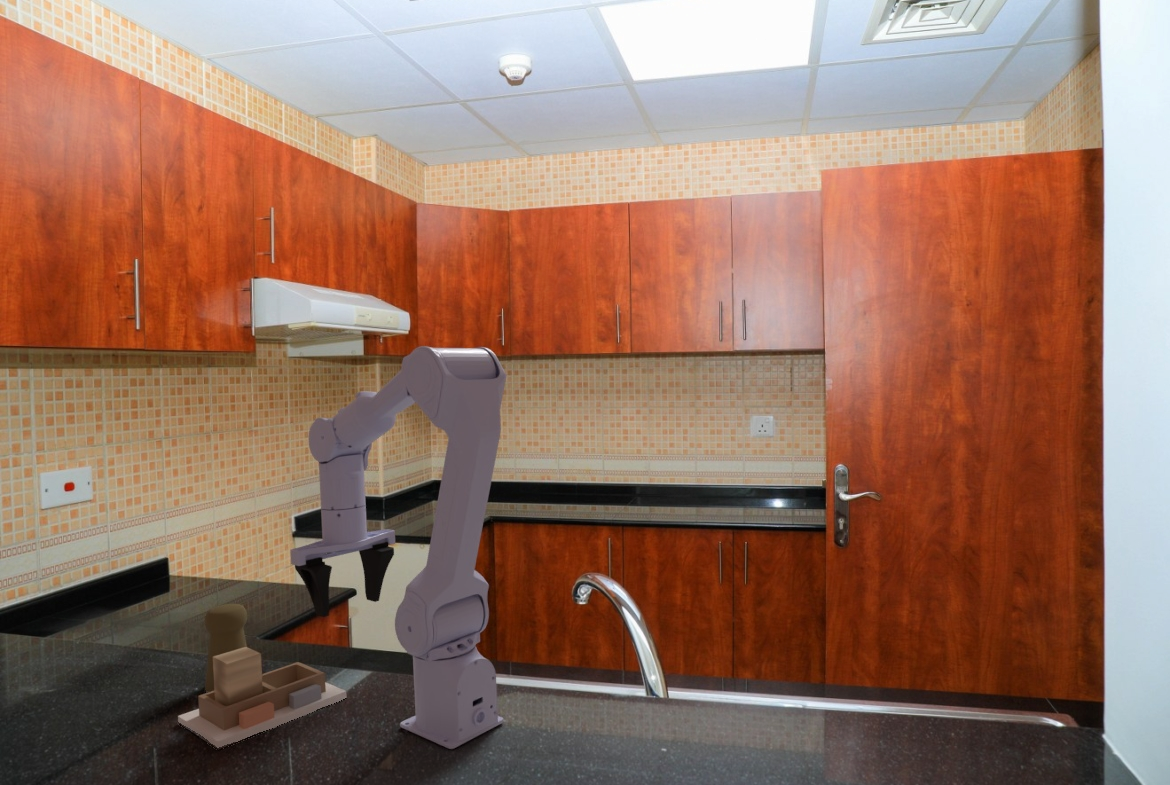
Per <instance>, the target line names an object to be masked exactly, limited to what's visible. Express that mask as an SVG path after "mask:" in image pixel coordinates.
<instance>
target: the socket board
mask: <svg viewBox="0 0 1170 785" xmlns="http://www.w3.org/2000/svg"><path fill="white" fill-rule="evenodd" d="M262 687H263V694H260V695H257V696H254V697H251V698H249V699H246V700H243V701H240V702H238V703H235V704H232V705H229V706H224V705H222V704H220V703H218V702H217V701H215V692H214V691H211V692H208V693H205V692H204V693H203V694H200V695H198V696H197V698H198V700H197V701H198V708H196V709H194V710H190V711H188V712H186V713H185V712H184V713H182V714H180V715H177V721H178V722H179V723H181V724H182V725H184V726H186V727H188V728H190V729H191V730H193V731H195V732H196V733H198V734H200V735H201V736H203V737H204V738H205V739H207V740H208V741H209V742H210V743H211V744H213V745H215V746H216V747H217V748H219V747H222V746H224V745H227V744H231V743H233V742H238V741H240V740H242V739H245V738H247V737H250V736H252V735H254V734H257V733H259V732H263V731H265V732H267V731H266V730H268V731H270V730H273V729H275V728H277V726H278V727H280V726H282V725H281V724H283V725H285V724H287V722H288V723H290V722H292V721H291V720H293V721H295V720H297V718H298V719H300V718H303V717H305V716H307V714H308V715H310V714H313V713H315V712H317V711H316V710H317V709H320V708H322V707H325V706H328V705H330V706H332V705H335V704H337V703H339V701H340V702H342V701H344V700H343V699H345V698H347V691H346V690H344V689H343V688H340V687H338V686H335V685H333V684H331V683H328V682H326V673H325V672H323V671H322V670H319V669H316V668H314V667H311V666H309V665H307V664H304V663H302V662H299V661H297V662H294V663H291V664H288V665H285V666H282V667H280V668H277V669H273V670H271V671H267V672H265V673H262ZM341 700H342V701H341ZM345 700H346V699H345ZM336 702H337V703H336ZM334 703H335V704H334ZM331 704H332V705H331ZM328 707H329V706H328ZM325 708H326V707H325ZM320 710H321V709H320ZM314 711H315V712H314ZM312 712H313V713H312ZM309 713H310V714H309ZM302 716H303V717H302ZM299 717H300V718H299ZM294 719H295V720H294ZM289 721H290V722H289ZM178 722H177V723H178ZM284 723H285V724H284ZM279 725H280V726H279ZM272 728H273V729H272ZM269 729H270V730H269ZM263 733H264V732H263ZM238 743H239V742H238Z"/></svg>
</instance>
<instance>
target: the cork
mask: <svg viewBox="0 0 1170 785" xmlns="http://www.w3.org/2000/svg"><path fill="white" fill-rule="evenodd" d="M204 616H205V617H204V626H205V628H206V632H208V633H209V638H208V650H207V660H206V661H207V662H206V671H205V683H204V691H205V690H206V691H209V692H210V691H214V672H213V657H214V656H217V655H220V654H224V653H227V652H230V651H234V650H237V649H240V648H244V647H248V644H247V640H246V634H245V631H244V630H245V628H244V627H245V624H246V623H247V620H248V612H247V610H246V608H245V606H244V605H242V604H241V603H224V604H220V605H217V606H214V607H212V608H210V609H209V610H208V611H207V612H206V614H205V615H204Z"/></svg>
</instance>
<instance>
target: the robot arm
mask: <svg viewBox="0 0 1170 785" xmlns="http://www.w3.org/2000/svg"><path fill="white" fill-rule="evenodd" d="M506 380H507V374H506V371H505V370H504V367H503V366H502V364H501V362H500V360H499V358H498V357H497V355H496V354H495V352H493V351H492V349H490V348H488V347H484V346H478V347H471V348H468V347H465V348H464V347H430V346H425V345H423V346H422V345H421V346H417V347H416V348H414V349H413V350H412V351H411V352H410V354H408V355H406V356H403V358H402V362H401V368H400V370H399V371H398V372H397V373H396V374H395V375H394V376H393V377H392V378H391V379H390V380H388V381H387V383H385V385H384V386H383V387H381V389H379V390H378V391H377V392H376V391H370V390H367V391H366V390H364V391H363V390H362V391H361V390H360V391H358V392H356V394H354V397H355V399H354V400H353V401H351V402H350V403H349V404H348V405H346V406H345V407H341V408H340V409H339V410H338V411H337V413H336V414H335V415H334V416H332V418H331V417H330V418H328V417H327V418H326V417H316V418H315V419H314V421H313V422H312V424H311V426H310V428H309V432H308V448H309V452H310V454H311V455H312V457H313V458H314V460H315V461H317V463H318V470H319V471H318V472H319V473H318V474H319V475H318V476H319V478H318V479H319V493H320V495H319V496H320V510H321V511H320V513H321V514H320V516H321V533H322V534H321V536H322V540H318V541H316V542H315V541H314V542H312V543H309V544H305V545H302V546H300V547H296V548H290V551H289V552H290V565H293V566H294V568H295V571H296V572H297V573H298V575H299V576H300V578H301V579H302V581H303V583H304V585H305V587H306V589H307V592H308V593H309V596H310V599H311V601H312V605H313V609H314V613H315V616H319V617H321V618H326V617H328V616H330V596H329V594H330V593H329V591H330V579H331V573H332V569H333V567H332V565H328V564H326V562H325V561H323V560H324V559H331V558H333V557H339V556H342V555H347V554H350V553H356V552H358V554H359V556H360V561H361V563H362V568H363V575H364V591H365V592H364V593H365V598H366V600H367V601H370V602H375V603H376V602H379V601H380V598H381V592H382V588H383V587H382V586H383V582H384V578H385V576H386V572H387V570H388V567H389V565H390V562H391V561H392V559H393V557H394V556H395V549H394V547H393V546H390V545H395V544H396V533H395V532H396V530H394V529H389V528H384V529H378V530H373V531H368V524H367V508H366V507H367V505H366V501H367V500H366V487H365V486H366V482H365V471H366V470H367V469H368V466H369V454H370V452H371V449H372V444H373V443H374V442H375V441H377V440H378V439H379V438H381V437H382V436H384V435H385V434H387V433H388V432H389V431H390V430H391V429H393V427H394V426H395V425H396V422H397V421H396V420H397V415H398V414H399V413H401V412H403V411H404V410H406V409H407V408H410V407H411V406H412V405H414V404H416V405H417V406H418V407H419V408H420V409H421V411H422V412H423V413H424V414H425V416H426V418H428V420H429V421H430V422H431V423H432V424H433V426H434V427H436V428H437V429H440V430H442V431H444V433H445V434H446V435H447V436H446V437H447V439H448V441H447V445H446V446H447V447H446V450H445V457H444V463H443V469H442V474H441V480H440V486H439V492H438V498H437V503H436V509H435V514H434V521H433V525H432V531H431V537H430V543H429V549H428V553H427V560H426V566H424V568H423V569H422V570H420V572H419V573H417V575H416V576H415V577H414V578H413V579H412V580H411V581H410V582H409V583H408V584H407V585H406V588H405V593H404V595H403V597H404V598H403V600H402V601H401V603H400V604H399V605H398V607H397V609H396V612H395V618H394V630H395V635H396V638H397V640H398V643H399V644H400V646H401V648H403V649H404V651H405V652H406V653H407V655H410V656H412V666H413V667H412V668H413V669H412V670H413V688H414V706H415V707H414V708H415V715H414V716H411V717H409V718H407V719H405V720H403V721H401V722H399V726H400V728H402V729H404V730H406V731H409V732H411V733H413V734H415V735H417V736H420V737H422V738H424V739H426V740H429V741H431V742H434V743H436V744H438V745H439V746H442V747H445V748H447V749H450V750H454V749H455V748H457V747H460V746H461V745H464V744H465V743H468V742H469V741H471V740H473V739H474V738H477V737H479V736H480V735H483V734H484V733H486V732H487V731H490V730H492V729H494V728H495V727H497V726H499V725H501V724H503V722H504V717H502V716H501V715H500V716H499V715H498V713H499V712H498V691H497V674H496V673H497V672H496V669H495V667H494V664H493V663H492V662H491V661H490V660H489V659H488V658H486V657H484V656H483V655H482V654H481V653H480V652H479V651H478V649H477V646H476V645H477V644H478V643H480V642H481V633H482V632H483V631H484V630H485V629H486V627H487V625H488V623H489V616H490V610H489V604H488V591H489V588H490V585H489V583H488V582H487V580H486V579H485V578H484V576H482V574H481V573H479V572H478V571H477V570H476V569H475V568H476V563H477V558H478V553H479V547H480V542H481V536H482V531H483V526H484V522H485V516H486V511H487V506H488V502H489V495H490V490H491V486H492V479H493V475H494V469H495V464H496V459H497V453H498V448H499V443H500V438H501V432H502V431H501V428H502V426H501V405H502V401H503V396H504V390H505V385H506Z"/></svg>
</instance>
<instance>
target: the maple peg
mask: <svg viewBox="0 0 1170 785" xmlns="http://www.w3.org/2000/svg"><path fill="white" fill-rule="evenodd" d="M262 670H263V669H262V654H261V652H259V651H257V650H255V649H252V648H249V647H248V646H247V647H244V648H240V649H237V650H234V651H230V652H227V653H224V654H220V655H217V656H214V657H213V672H214V692H215V701H217V702H218V703H220V704H222V705H224V706H229V705H232V704H235V703H238V702H240V701H243V700H246V699H249V698H251V697H254V696H257V695H260V694H263V687H262V674H263V671H262Z"/></svg>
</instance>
